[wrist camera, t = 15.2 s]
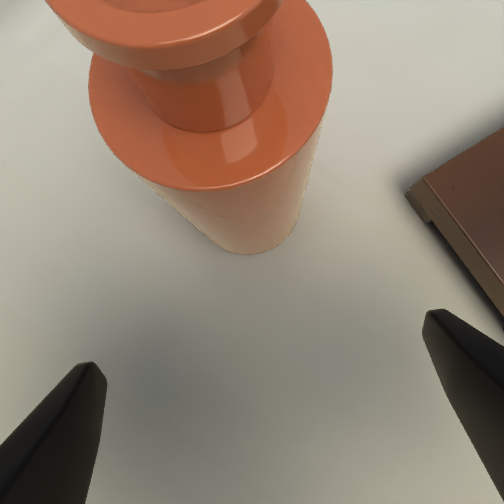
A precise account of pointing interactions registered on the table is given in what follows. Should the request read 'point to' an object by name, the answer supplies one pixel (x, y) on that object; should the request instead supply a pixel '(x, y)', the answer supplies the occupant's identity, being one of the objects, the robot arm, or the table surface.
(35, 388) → the table surface
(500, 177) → the stand
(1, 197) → the table surface
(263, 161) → the vase
